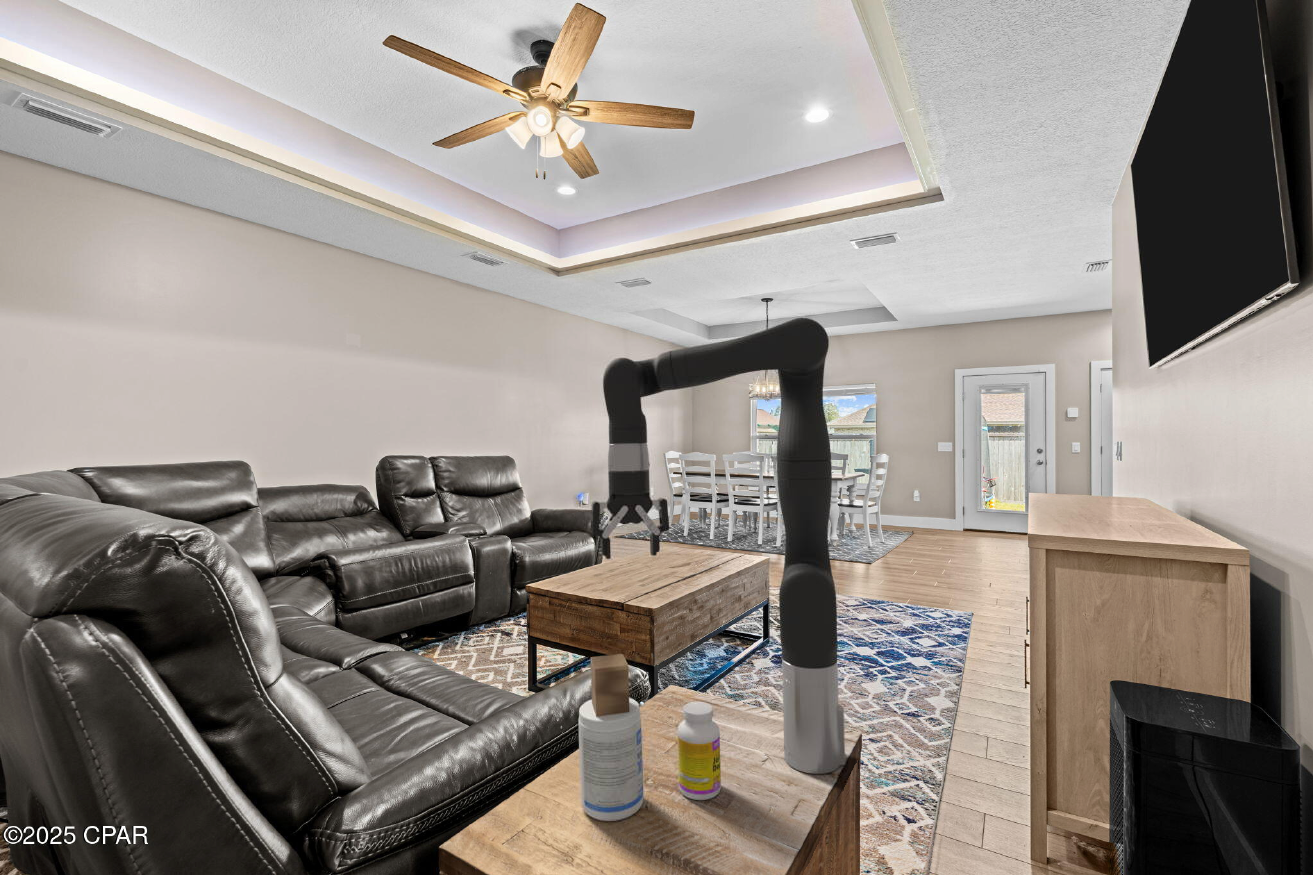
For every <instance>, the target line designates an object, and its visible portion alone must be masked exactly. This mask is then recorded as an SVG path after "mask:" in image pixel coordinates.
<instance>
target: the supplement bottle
mask: <svg viewBox="0 0 1313 875" xmlns="http://www.w3.org/2000/svg"><path fill="white" fill-rule="evenodd" d="M682 714H683V718H684V720H682V721H681V722H680V723H679V725H678V728H677V748H678V749H677V752H678V753H677V754H678V755H677V756H678V760H677V761H678V762H677V763H678V788H679V790H680V792H681V794H682V795H683V796H685V797H686V798H689V799H691V800H695V801H696V800H697V801H705V800H710V799H713V798H715V797H716V796H717V795H718V794H719V793H720V791H721V788H722V780H721V779H722V774H721V773H722V771H721V770H722V768H721V734H720V733H721V732H720V727H719V725H718V724H717V722H716V721H714V720H713V718H714V708H713V706H712V705H711V704H710V703H707V702H704V701H691V702H688V703H686V704H685V705H684V706H683V713H682Z"/></svg>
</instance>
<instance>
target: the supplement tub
mask: <svg viewBox="0 0 1313 875" xmlns="http://www.w3.org/2000/svg"><path fill="white" fill-rule="evenodd" d="M640 708H641V707H640V704H639V703H638V701H636V700H635V699H633V698H631V697H629V712H627V713H620V714H612V715H605V716H597V717H596V714H595V711H594V708H593V705H592V698H591V699H589V700H587V701H585V702H584V703H582V704H581V706H580V707H579V711H578V716H579V717H578V746H579V747H578V750H579V776H580V777H579V778H580V779H579V781H580V803H581V808H582V809H583V811H584V812H585V813H586V815H588V816H589V817H592V818H594V819H595V820H598V821H603V822H613V821H620V820H624V819H626V818H628V817H631V816H633V815H634V814H636V813H637V812H638V811H639V809H640V808H641V807H642V804H643V802H644V795H645V794H644V768H643V767H644V766H643V762H644V761H643V741H642V740H643V738H642V737H643V736H642V735H643V734H642V718H641V711H640V710H641V709H640Z"/></svg>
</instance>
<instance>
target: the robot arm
mask: <svg viewBox="0 0 1313 875" xmlns="http://www.w3.org/2000/svg"><path fill="white" fill-rule="evenodd" d="M829 347H830V340H829V336H828V332H827V331H826V329H825V328H824V327H823V325H821V324H820V323H819V322H818V321H816V320H814V319H811V318H808V317H796V318H793V319H791V320H788V321H785V322H783V323H779V324H777V325H775V326H772V327H769V328H767V329H764V330H761V331H758V332H754V333H750V334H748V335H744V336H740V337H737V338H736V337H735V338H733V339H729V340H723V341H722V340H721V341H719V342H713V343H707V344H701V345H696V346H695V345H694V346H690V347H685V348H679V349H674V350H669V351H668V350H667V351H666V352H662V353H660V354H658V355H657V356H656V357H653V358H648V359H643V360H637V361H634V360H632V359H631V358H627V357H618V358H614V359H613V360H611V361H610V362H609V363H608V364H607V365H606V368H605V369H604V372H603V377H602V378H603V379H602V389H603V397H604V401H605V408H606V412H607V417H608V452H607V453H608V454H607V465H608V466H607V470H608V473H607V474H608V499H607V501H597V500H593V501H592V502H591V511H590V533H591V534H592V535H593V536H596V537H600V540H601V541H600V543H601V544H600V545H601V546H600V547H601V549H600V551H601V554H602V556H603V557H605V559H606V560H611V558H612V557H611V556H612V555H611V552H612V551H611V538H610V536H611V533H612V532H613V531H614V530H615V529H616V528H617V526H618V525H619V524H621V525H629V524H634V525H637V524H638V525H639V524H640V523H643V524H644V525H645V526H646V527H647V529H648V530H649V531H650V532H651V534H649V544H650V545H649V546H650V548H649V549H650V555H651V556H655V557H656V556H657V555H658V554H657V553H659V552H660V550H661V549H660V545H661V544H660V535H661V534H662V533H665V532H668V531H669V530H670V520H669V510H668V509H669V508H668V500H667V499H666V498H664V497H660V498H657V499H652V498H651V496H650V495H651V494H650V493H651V492H650V491H651V490H650V484H651V482H650V465H651V463H650V455H649V448H648V447H649V446H648V429H647V424H648V423H647V418H646V415H645V413H644V412H643V408H642V398H645V397H648V396H652V395H655V394H660V393H663V392H666V391H674V390H675V391H676V390H682V389H688V388H693V387H699V386H704V385H707V384H711V383H715V382H718V381H722V380H725V379H728V378H730V377H734V376H738V375H742V374H747V373H754V372H760V371H761V372H762V371H773V370H774V371H775V370H776V371H777V375H778V381H779V382H778V384H779V391H780V393H779V394H780V414H779V423H778V428H777V429H778V430H777V439H776V440H777V441H776V477H777V478H776V479H777V481H776V482H777V491H778V499H779V500H778V501H779V506H780V509H781V515H782V520H783V525H784V532H785V533H784V534H785V549H784V561H783V562H784V565H783V573H782V579H781V582H780V586H779V593H778V594H779V595H778V598H779V599H778V604H779V605H778V606H779V607H778V608H779V611H778V612H779V630H780V632H779V634H780V636H779V637H780V646H781V667H782V668H781V669H782V674H781V675H782V676H781V677H782V705H783V706H782V708H783V710H782V711H783V750H784V753H783V754H784V755H783V756H784V757H783V758H784V760H785V762H786V763H787V764H788V765H789V766H790V767H791V768H793V769H795V770H797V771H800V772H803V773H806V774H811V775H812V774H815V775H820V774H822V775H824V774H829V773H831V772H834V771H836V770H837V769H838V768H839V767H841V766H845V765H846V748H845V747H846V746H845V745H846V744H845V743H846V742H845V741H846V739H845V736H846V734H845V711H844V710H845V709H844V707H843V706H842V705H841V704H840V703H839V701H840V700H839V677H838V676H839V673H838V672H839V671H838V670H839V668H838V612H837V609H838V608H837V594H836V586H835V581H834V580H835V579H834V577H833V571H832V565H831V557H830V551H829V536H828V535H829V534H828V528H829V519H830V513H831V512H830V511H831V504H832V489H833V488H832V487H833V477H832V476H833V474H832V472H833V471H832V470H833V468H832V453H831V452H832V451H831V442H830V435H829V430H828V425H827V424H828V423H827V420H826V419H827V418H826V414H825V408H824V377H825V365H826V364H825V363H826V358H827V355H828V351H829ZM653 507H654V509H655V510H656V511H658V521H659V524H658V525H656V523H654V521H653V520H652V518H651V517H650V516H649V515H648V513H650V511H651V509H652V508H653ZM605 509H607V511H608V512H609V513H610V514H611V515H610V517H609V519H608V520H607V521H606V524H605V525H604V526H603V528H602V529H601V528H600V517H601V515H602V514H603V513H604V510H605Z"/></svg>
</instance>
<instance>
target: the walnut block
mask: <svg viewBox="0 0 1313 875" xmlns="http://www.w3.org/2000/svg"><path fill="white" fill-rule="evenodd" d="M629 668H630V667H629V664H628V662H627V660H626V657H625V656H624V654H623V653H618V654H610V655H609V654H608V655H599V656H591V657H590V677H591V678H590V679H591V682H590V684H591V686H590V687H591V699H592V705H593V708H594V711H595V714H596V717H597V716H605V715H612V714H620V713H627V712H629V698H630V685H629V682H630V680H629V679H630V678H629V677H630V676H629Z"/></svg>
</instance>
